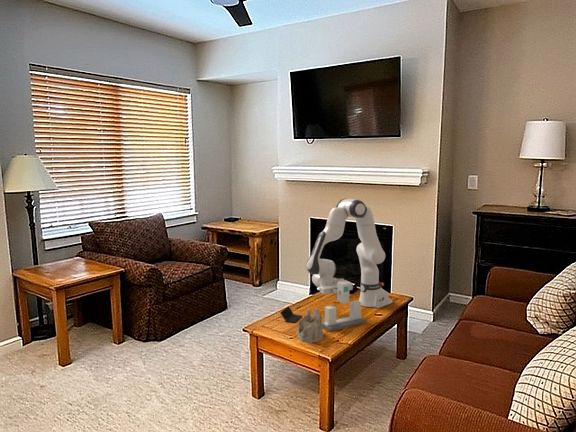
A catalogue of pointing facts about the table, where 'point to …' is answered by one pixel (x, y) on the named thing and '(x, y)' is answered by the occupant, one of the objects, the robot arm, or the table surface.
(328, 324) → the white u-shaped stand
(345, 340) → the table surface
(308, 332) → the stone castle model
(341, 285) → the block
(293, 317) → the handheld gaming console
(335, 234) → the robot arm
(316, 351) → the table surface
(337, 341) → the table surface
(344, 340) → the table surface
